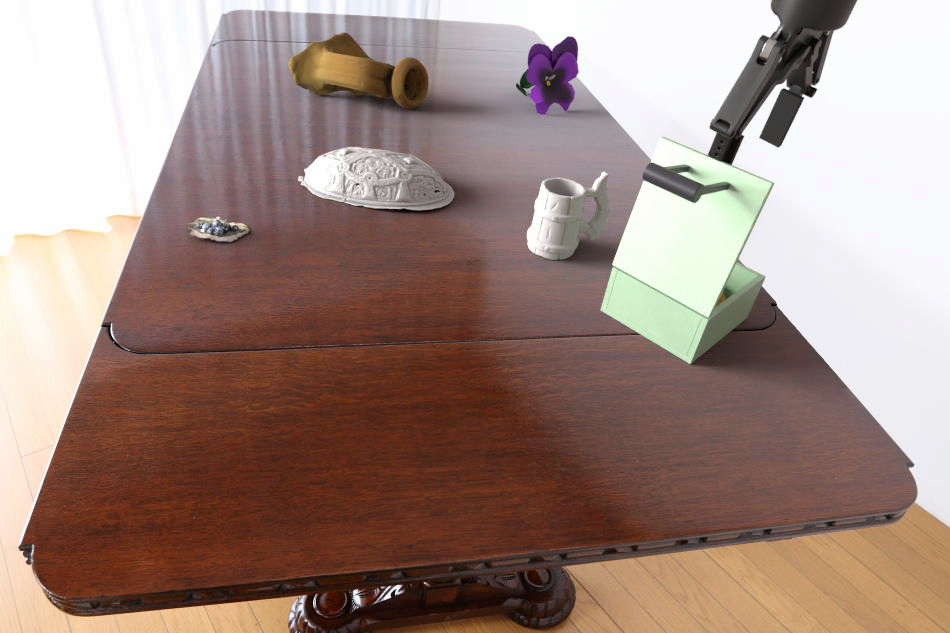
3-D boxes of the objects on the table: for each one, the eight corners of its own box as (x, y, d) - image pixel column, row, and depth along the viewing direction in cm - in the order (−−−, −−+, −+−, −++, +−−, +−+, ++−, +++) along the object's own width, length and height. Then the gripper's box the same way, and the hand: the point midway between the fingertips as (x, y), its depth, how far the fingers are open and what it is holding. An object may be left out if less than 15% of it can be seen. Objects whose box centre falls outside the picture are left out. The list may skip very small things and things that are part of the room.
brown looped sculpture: (354, 38, 148) (436, 46, 138) (348, 99, 152) (427, 112, 142) (291, 20, 133) (376, 29, 123) (286, 89, 137) (369, 103, 126)
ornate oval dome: (447, 217, 103) (449, 174, 100) (285, 199, 104) (283, 156, 101) (459, 183, 116) (462, 144, 113) (316, 167, 117) (314, 129, 114)
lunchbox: (662, 272, 99) (675, 231, 95) (747, 317, 92) (766, 276, 88) (600, 310, 89) (612, 267, 85) (690, 364, 82) (708, 320, 78)
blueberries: (187, 221, 95) (185, 209, 93) (247, 217, 97) (246, 205, 96) (189, 246, 90) (187, 234, 89) (252, 241, 93) (251, 229, 91)
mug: (517, 235, 103) (531, 161, 95) (588, 232, 106) (606, 160, 99) (535, 262, 97) (551, 186, 90) (609, 258, 100) (630, 184, 93)
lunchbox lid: (663, 136, 77) (619, 139, 70) (774, 182, 71) (738, 191, 64) (615, 263, 85) (571, 277, 78) (711, 316, 78) (672, 336, 71)
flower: (498, 122, 153) (535, 114, 142) (489, 52, 149) (526, 38, 138) (549, 116, 160) (587, 107, 149) (540, 49, 157) (580, 35, 145)
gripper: (843, -58, 74) (765, 115, 89) (723, -11, 61) (655, 183, 76) (910, -35, 71) (817, 140, 86) (799, 21, 57) (712, 217, 73)
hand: (740, 162), depth 81 cm, fingers open, 13 cm apart
